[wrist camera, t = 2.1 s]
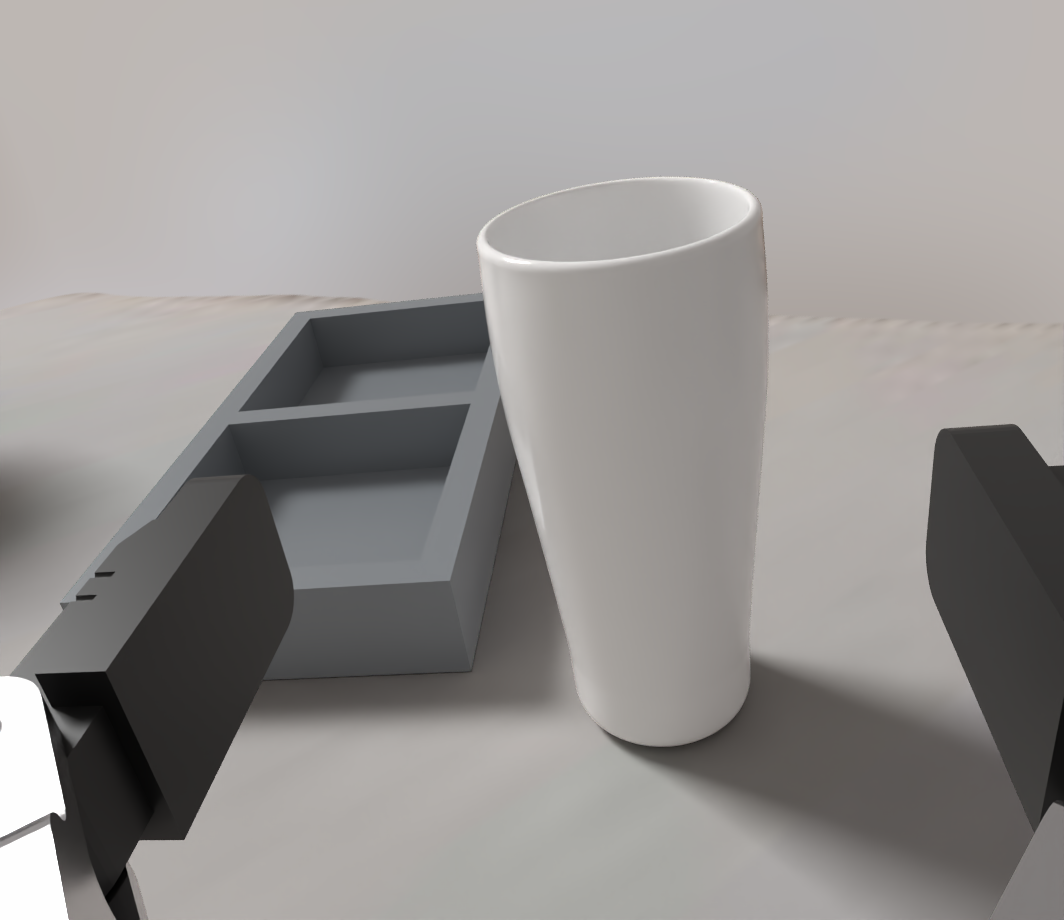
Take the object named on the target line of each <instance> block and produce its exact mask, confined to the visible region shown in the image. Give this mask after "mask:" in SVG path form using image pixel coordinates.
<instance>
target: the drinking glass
mask: <svg viewBox="0 0 1064 920" xmlns="http://www.w3.org/2000/svg"><path fill="white" fill-rule="evenodd" d="M762 216H763V212H762V207H761V203H760V202H759V200H758V198H757V197H756V196H755V195H754V194H753V193H751V192H750V191H748V190H746V189H744V188H742V187H740V186H737V185H734V184H731V183H727V182H723V181H718V180H712V179H704V178H693V177H647V178H633V179H623V180H615V181H607V182H601V183H595V184H589V185H583V186H579V187H574V188H569V189H565V190H561V191H557V192H554V193H550V194H547V195H543V196H540V197H537V198H534V199H531V200H529V201H526V202H524V203H521V204H519V205H516V206H514V207H512V208H510V209H508V210H506V211H504V212H502V213H501V214H499V215H497V216H496V217H495V218H493V219H492V220H490V221H489V222H488V223H487V224H486V225H485V226H484V227H483V228H482V230H481V231H480V233H479V235H478V238H477V253H478V260H479V268H480V276H481V285H482V293H483V301H484V308H485V315H486V321H487V328H488V334H489V340H490V346H491V352H492V357H493V362H494V367H495V373H496V377H497V382H498V387H499V391H500V396H501V400H502V404H503V408H504V412H505V416H506V420H507V424H508V427H509V431H510V435H511V439H512V442H513V446H514V450H515V453H516V457H517V460H518V464H519V468H520V471H521V475H522V478H523V482H524V485H525V489H526V493H527V496H528V500H529V503H530V507H531V510H532V514H533V518H534V521H535V525H536V528H537V532H538V535H539V539H540V543H541V546H542V550H543V553H544V557H545V561H546V564H547V568H548V572H549V575H550V579H551V583H552V586H553V590H554V594H555V597H556V601H557V605H558V609H559V612H560V616H561V620H562V624H563V627H564V631H565V635H566V639H567V643H568V647H569V651H570V657H571V663H572V669H573V675H574V681H575V686H576V690H577V694H578V697H579V699H580V701H581V704H582V706H583V707H584V709H585V711H586V712H587V713H588V715H589V716H590V717H591V718H592V719H593V720H594V722H595V723H596V724H598V725H599V726H600V727H601V728H603V729H604V730H605V731H607V732H608V733H610V734H612V735H614V736H616V737H618V738H620V739H622V740H625V741H628V742H631V743H635V744H639V745H645V746H654V747H669V746H678V745H684V744H689V743H692V742H695V741H698V740H701V739H704V738H706V737H708V736H710V735H712V734H714V733H715V732H717V731H719V730H720V729H722V728H723V727H724V726H726V725H727V724H728V723H729V722H730V721H731V720H732V719H733V718H734V717H735V716H736V714H737V713H738V712H739V710H740V709H741V707H742V705H743V704H744V702H745V699H746V697H747V694H748V691H749V686H750V677H751V664H750V620H751V604H752V589H753V575H754V561H755V546H756V533H757V520H758V506H759V494H760V481H761V469H762V456H763V443H764V430H765V417H766V402H767V387H768V360H769V316H768V288H767V270H766V257H765V242H764V230H763V217H762Z"/></svg>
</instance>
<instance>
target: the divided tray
mask: <svg viewBox="0 0 1064 920" xmlns="http://www.w3.org/2000/svg"><path fill="white" fill-rule="evenodd" d="M515 462H516V453H515V450H514V446H513V442H512V439H511V435H510V431H509V427H508V424H507V420H506V416H505V412H504V408H503V404H502V400H501V396H500V391H499V387H498V382H497V377H496V373H495V367H494V362H493V357H492V352H491V346H490V340H489V334H488V328H487V321H486V315H485V308H484V301H483V293H478V294H468V295H459V296H450V297H441V298H430V299H421V300H411V301H402V302H392V303H383V304H373V305H364V306H354V307H344V308H335V309H325V310H316V311H306V312H297V313H295V314H294V316H293V317H292V318H291V319H290V321H289V322H288V323H287V324H286V325H285V327H284V328H283V329H282V330H281V332H280V333H279V334H278V335H277V337H276V338H275V339H274V340H273V341H272V343H271V344H270V345H269V346H268V348H267V349H266V350H265V351H264V353H263V354H262V355H261V356H260V357H259V359H258V360H257V361H256V362H255V364H254V365H253V366H252V367H251V368H250V370H249V371H248V372H247V373H246V375H245V376H244V377H243V378H242V380H241V381H240V382H239V383H238V384H237V386H236V387H235V388H234V389H233V391H232V392H231V393H230V394H229V396H228V397H227V398H226V399H225V400H224V402H223V403H222V404H221V405H220V407H219V408H218V409H217V410H216V411H215V413H214V414H213V415H212V416H211V418H210V419H209V420H208V421H207V423H206V424H205V425H204V426H203V427H202V429H201V430H200V431H199V432H198V434H197V435H196V436H195V437H194V439H193V440H192V441H191V442H190V443H189V445H188V446H187V447H186V448H185V450H184V451H183V452H182V453H181V455H180V456H179V457H178V458H177V459H176V461H175V462H174V463H173V464H172V466H171V467H170V468H169V469H168V470H167V472H166V473H165V474H164V475H163V477H162V478H161V479H160V480H159V482H158V483H157V484H156V485H155V486H154V488H153V489H152V490H151V491H150V493H149V494H148V495H147V496H146V498H145V499H144V500H143V501H142V502H141V504H140V505H139V506H138V507H137V509H136V510H135V511H134V512H133V513H132V515H131V516H130V517H129V518H128V520H127V521H126V522H125V523H124V525H123V526H122V527H121V528H120V529H119V531H118V532H117V533H116V534H115V536H114V537H113V538H112V539H111V541H110V542H109V543H108V544H107V545H106V547H105V548H104V549H103V550H102V552H101V553H100V554H99V555H98V556H97V558H96V559H95V560H94V561H93V563H92V564H91V565H90V566H89V568H88V569H87V570H86V571H85V572H84V574H83V575H82V576H81V577H80V579H79V580H78V581H77V582H76V584H75V585H74V586H73V587H72V588H71V590H70V591H69V592H68V593H67V595H66V596H65V597H64V598H63V599H62V601H61V602H60V605H61V607H62V609H63V610H64V609H65V608H66V607H67V605H68V604H69V603H70V602H72V601H76V594H77V593H78V592H79V591H80V590H81V588H82V587H83V586H84V585H85V583H86V582H87V581H88V580H89V579H90V578H95V571H96V570H97V569H98V568H99V566H100V565H101V564H102V563H103V562H104V560H105V559H106V558H107V557H108V556H109V554H110V553H111V552H112V551H113V549H114V548H115V547H116V546H117V545H118V544H119V543H121V542H122V541H123V540H125V539H126V538H128V537H129V536H130V535H132V534H133V533H135V532H136V531H137V530H139V529H140V528H142V527H143V526H145V525H146V524H147V523H149V522H150V521H152V520H155V519H158V517H159V516H160V515H161V514H162V512H163V511H164V510H165V509H166V507H167V506H168V505H169V503H170V502H171V501H172V500H173V498H174V497H175V496H176V495H177V493H178V492H179V491H180V490H181V488H182V487H183V486H184V485H185V483H186V482H187V481H189V480H190V479H193V478H202V477H217V476H232V475H247V474H249V475H253V476H255V477H256V478H257V479H258V480H259V481H260V483H261V485H262V486H263V488H264V491H265V494H266V497H267V500H268V503H269V506H270V509H271V513H272V516H273V519H274V522H275V525H276V528H277V531H278V535H279V538H280V541H281V544H282V547H283V550H284V553H285V557H286V560H287V563H288V566H289V569H290V572H291V576H292V581H293V588H294V606H293V613H292V618H291V621H290V624H289V627H288V629H287V631H286V633H285V635H284V637H283V639H282V641H281V643H280V645H279V647H278V649H277V651H276V653H275V655H274V657H273V659H272V661H271V663H270V666H269V668H268V670H267V672H266V674H265V676H264V678H263V680H273V679H297V678H321V677H345V676H369V675H392V674H416V673H440V672H464V671H471V670H472V665H473V661H474V656H475V651H476V646H477V642H478V637H479V632H480V627H481V623H482V618H483V613H484V609H485V604H486V599H487V594H488V590H489V585H490V580H491V575H492V571H493V566H494V561H495V557H496V552H497V547H498V542H499V538H500V533H501V528H502V523H503V519H504V514H505V509H506V505H507V500H508V495H509V490H510V486H511V481H512V476H513V472H514V467H515Z"/></svg>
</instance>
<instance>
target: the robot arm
mask: <svg viewBox="0 0 1064 920" xmlns="http://www.w3.org/2000/svg"><path fill="white" fill-rule="evenodd" d="M926 564H927V573H928V580H929V585H930V589H931V593H932V596H933V599H934V602H935V604H936V606H937V609H938V611H939V613H940V616H941V618H942V620H943V623H944V625H945V627H946V630H947V632H948V634H949V636H950V639H951V641H952V643H953V646H954V648H955V650H956V653H957V655H958V657H959V660H960V662H961V664H962V667H963V669H964V671H965V673H966V676H967V678H968V680H969V683H970V685H971V687H972V690H973V692H974V694H975V697H976V699H977V701H978V704H979V706H980V708H981V710H982V713H983V715H984V717H985V720H986V722H987V724H988V727H989V729H990V731H991V734H992V736H993V738H994V741H995V743H996V745H997V747H998V750H999V752H1000V754H1001V757H1002V759H1003V761H1004V764H1005V766H1006V768H1007V771H1008V773H1009V775H1010V778H1011V780H1012V782H1013V784H1014V787H1015V789H1016V791H1017V794H1018V796H1019V798H1020V801H1021V803H1022V805H1023V808H1024V810H1025V812H1026V815H1027V817H1028V819H1029V821H1030V824H1031V826H1032V828H1033V831H1034V835H1033V837H1032V839H1031V841H1030V843H1029V845H1028V847H1027V849H1026V850H1025V852H1024V854H1023V856H1022V858H1021V860H1020V862H1019V864H1018V866H1017V868H1016V869H1015V871H1014V873H1013V875H1012V877H1011V879H1010V881H1009V883H1008V885H1007V887H1006V888H1005V890H1004V892H1003V894H1002V896H1001V898H1000V900H999V902H998V904H997V905H996V907H995V909H994V911H993V913H992V915H991V917H990V919H989V920H1064V466H1048V465H1047V464H1046V463H1045V461H1044V460H1043V459H1042V457H1041V456H1040V455H1039V453H1038V452H1037V451H1036V449H1035V448H1034V447H1033V445H1032V444H1031V443H1030V441H1029V440H1028V439H1027V437H1026V436H1025V434H1024V433H1023V432H1022V430H1021V429H1020V428H1019V427H1018V426H1016V425H1015V424H1006V425H991V426H976V427H961V428H947V429H942V430H941V431H940V432H939V434H938V436H937V439H936V444H935V450H934V461H933V472H932V483H931V495H930V506H929V517H928V529H927V540H926ZM293 606H294V588H293V581H292V576H291V572H290V569H289V566H288V563H287V560H286V557H285V553H284V550H283V547H282V544H281V541H280V538H279V535H278V531H277V528H276V525H275V522H274V519H273V516H272V513H271V509H270V506H269V503H268V500H267V497H266V494H265V491H264V488H263V486H262V485H261V483H260V481H259V480H258V479H257V478H256V477H255V476H253V475H249V474H247V475H232V476H217V477H202V478H193V479H190V480H189V481H187V482H186V483H185V485H184V486H183V487H182V488H181V490H180V491H179V492H178V493H177V495H176V496H175V497H174V498H173V500H172V501H171V502H170V503H169V505H168V506H167V507H166V509H165V510H164V511H163V512H162V514H161V515H160V516H159V517H158V519H155V520H152V521H150V522H149V523H147V524H146V525H145V526H143V527H142V528H140V529H139V530H137V531H136V532H135V533H133V534H132V535H130V536H129V537H128V538H126V539H125V540H123V541H122V542H121V543H119V544H118V545H117V546H116V547H115V548H114V549H113V551H112V552H111V553H110V554H109V556H108V557H107V558H106V559H105V560H104V562H103V563H102V564H101V565H100V566H99V568H98V569H97V570H96V571H95V578H90V579H89V580H88V581H87V582H86V583H85V585H84V586H83V587H82V588H81V590H80V591H79V592H78V593H77V594H76V601H72V602H70V603H69V604H68V605H67V607H66V608H65V609H64V610H63V611H62V613H61V614H60V615H59V616H58V617H57V619H56V620H55V621H54V622H53V623H52V625H51V626H50V627H49V628H48V630H47V631H46V632H45V633H44V634H43V636H42V637H41V638H40V639H39V640H38V642H37V643H36V644H35V645H34V647H33V648H32V649H31V650H30V651H29V653H28V654H27V655H26V656H25V657H24V659H23V660H22V661H21V662H20V664H19V665H18V666H17V667H16V668H15V670H14V671H13V672H12V673H11V674H10V676H9V677H0V920H148V917H147V913H146V909H145V906H144V902H143V899H142V895H141V891H140V888H139V884H138V881H137V878H136V876H135V873H134V871H133V869H132V868H131V866H130V864H129V862H128V860H129V858H130V856H131V854H132V852H133V850H134V849H135V847H136V845H137V843H138V841H139V840H184V839H185V837H186V835H187V833H188V831H189V829H190V827H191V825H192V823H193V821H194V819H195V817H196V815H197V813H198V811H199V809H200V807H201V805H202V802H203V800H204V798H205V796H206V794H207V792H208V790H209V788H210V786H211V784H212V782H213V780H214V778H215V776H216V774H217V772H218V770H219V768H220V766H221V764H222V762H223V760H224V758H225V755H226V753H227V751H228V749H229V747H230V745H231V743H232V741H233V739H234V737H235V735H236V733H237V731H238V729H239V727H240V725H241V723H242V721H243V719H244V717H245V715H246V713H247V711H248V708H249V706H250V704H251V702H252V700H253V698H254V696H255V694H256V692H257V690H258V688H259V686H260V684H261V682H262V680H263V678H264V676H265V674H266V672H267V670H268V668H269V666H270V663H271V661H272V659H273V657H274V655H275V653H276V651H277V649H278V647H279V645H280V643H281V641H282V639H283V637H284V635H285V633H286V631H287V629H288V627H289V624H290V621H291V618H292V613H293Z"/></svg>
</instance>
